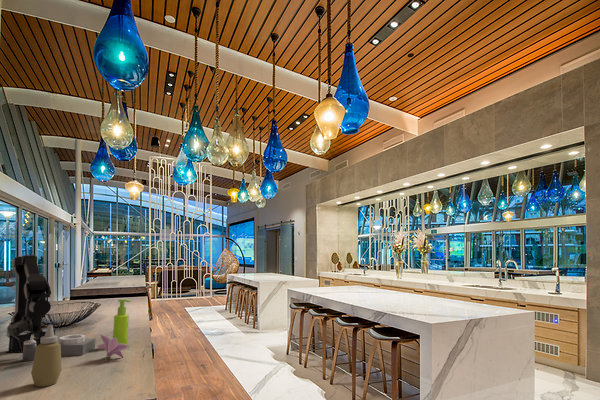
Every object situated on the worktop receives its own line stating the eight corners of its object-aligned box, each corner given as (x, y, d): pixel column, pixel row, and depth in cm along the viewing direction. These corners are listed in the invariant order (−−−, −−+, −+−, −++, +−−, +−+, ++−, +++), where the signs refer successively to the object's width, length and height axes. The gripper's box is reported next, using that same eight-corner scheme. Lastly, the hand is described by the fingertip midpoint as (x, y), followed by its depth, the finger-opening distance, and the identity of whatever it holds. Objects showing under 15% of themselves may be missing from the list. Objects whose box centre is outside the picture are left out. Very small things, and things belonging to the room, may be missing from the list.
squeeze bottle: (39, 380, 127) (44, 323, 129) (65, 379, 128) (69, 322, 130) (24, 389, 119) (29, 327, 121) (52, 388, 120) (56, 327, 122)
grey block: (19, 362, 148) (20, 342, 149) (27, 358, 153) (28, 339, 154) (33, 361, 149) (35, 342, 150) (41, 357, 154) (42, 339, 155)
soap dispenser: (123, 348, 169) (126, 300, 171) (109, 347, 170) (112, 300, 173) (132, 345, 174) (134, 299, 177) (118, 344, 176) (120, 298, 178)
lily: (130, 363, 149) (136, 338, 155) (102, 357, 142) (109, 330, 147) (111, 369, 155) (117, 344, 160) (83, 363, 147) (90, 337, 153)
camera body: (45, 356, 156) (47, 340, 157) (61, 348, 168) (62, 334, 169) (82, 355, 158) (83, 339, 158) (95, 347, 169) (96, 333, 170)
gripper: (-3, 314, 150) (-7, 356, 148) (27, 317, 142) (24, 362, 140) (27, 310, 160) (24, 349, 158) (57, 313, 152) (54, 354, 150)
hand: (30, 354), depth 151 cm, fingers open, 9 cm apart
